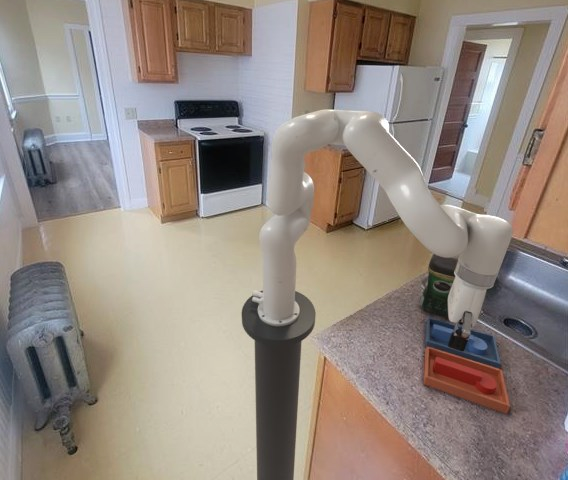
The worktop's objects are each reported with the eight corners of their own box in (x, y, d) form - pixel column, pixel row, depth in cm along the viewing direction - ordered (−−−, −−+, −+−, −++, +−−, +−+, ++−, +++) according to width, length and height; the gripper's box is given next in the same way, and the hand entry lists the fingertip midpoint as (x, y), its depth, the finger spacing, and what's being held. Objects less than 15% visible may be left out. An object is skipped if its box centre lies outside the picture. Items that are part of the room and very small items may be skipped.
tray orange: (423, 384, 77) (425, 377, 76) (424, 352, 86) (426, 345, 85) (506, 414, 71) (510, 406, 70) (499, 376, 79) (502, 369, 78)
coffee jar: (452, 305, 103) (466, 256, 96) (452, 321, 97) (467, 269, 89) (420, 296, 107) (432, 248, 100) (418, 310, 101) (429, 260, 93)
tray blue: (425, 347, 87) (426, 341, 86) (426, 323, 96) (427, 316, 95) (498, 371, 81) (501, 363, 80) (492, 342, 90) (494, 335, 89)
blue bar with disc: (431, 340, 89) (433, 331, 88) (431, 329, 93) (433, 320, 91) (486, 357, 84) (489, 348, 83) (484, 345, 88) (487, 336, 86)
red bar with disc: (432, 376, 79) (435, 366, 77) (433, 362, 82) (435, 352, 81) (495, 397, 74) (500, 387, 72) (493, 382, 77) (497, 372, 76)
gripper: (453, 248, 76) (437, 305, 83) (458, 290, 62) (437, 355, 69) (489, 256, 74) (469, 314, 81) (503, 302, 59) (476, 368, 66)
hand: (454, 333), depth 75 cm, fingers open, 9 cm apart
